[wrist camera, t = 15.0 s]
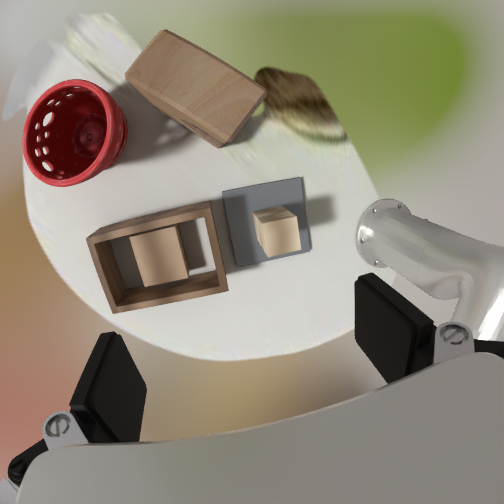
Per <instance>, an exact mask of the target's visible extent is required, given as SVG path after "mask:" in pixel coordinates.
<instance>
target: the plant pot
mask: <svg viewBox="0 0 504 504" xmlns="http://www.w3.org/2000/svg"><path fill="white" fill-rule="evenodd" d="M74 87H80V88H74ZM69 94H72V95H70V96H67V95H69ZM53 99H54V100H53ZM51 100H53V101H52V102H51V103H50V104H48V103H49V102H50V101H51ZM59 101H60V102H59ZM57 102H59V104H57V105H55V104H56V103H57ZM47 104H48V105H47ZM50 112H52V117H51V120H50V122H49V123H48V124H47V125H46V126H43V120H44V118H45V116H46V115H47V114H48V113H50ZM37 123H38V126H37V129H36V130H35V126H36V124H37ZM45 132H47V137H46V138H45ZM37 136H38V139H39V140H38V142H37ZM126 139H127V123H126V119H125V116H124V114H123V112H122V111H121V109H120V108H119V107H118V105H117V104H116V102H115V100H114V99H113V98H112V97H111V96H110V95H109V94H108V93H107V92H106V91H105V90H104V89H102V88H101V87H99V86H98V85H96V84H94V83H92V82H89V81H86V80H80V79H72V80H67V81H63V82H60V83H58V84H56V85H54V86H52V87H51V88H50V89H48V90H47V91H46V92H45V93H43V94H42V95H41V96H40V98H39V99H38V100H37V101H36V102H35V104H34V105H33V107H32V108H31V110H30V112H29V114H28V116H27V119H26V122H25V126H24V130H23V141H22V144H23V153H24V157H25V160H26V163H27V165H28V167H29V169H30V170H31V172H32V173H33V174H34V175H35V176H36V177H37V178H38V179H39V180H41V181H42V182H44V183H46V184H49V185H52V186H57V187H67V186H72V185H76V184H79V183H82V182H84V181H86V180H89V179H91V178H93V177H94V176H96V175H98V174H99V173H100V172H102V171H103V170H105V169H107V168H108V167H109V166H111V165H112V164H113V163H114V162H115V161H116V160H117V158H118V157H119V156H120V154H121V152H122V150H123V148H124V146H125V143H126ZM43 147H45V149H46V151H47V155H45V154H44V153H43ZM35 149H36V150H37V152H38V156H36V154H35ZM42 162H45V163H47V164H48V166H49V167H50V168H51V171H47V170H46V169H45V168H44V167H43V165H42ZM60 173H61V174H60Z"/></svg>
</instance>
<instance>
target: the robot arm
mask: <svg viewBox="0 0 504 504" xmlns="http://www.w3.org/2000/svg"><path fill="white" fill-rule="evenodd" d="M356 243H357V248H358V251H359V253H360V255H361V257H362V258H363V259H364V260H365V261H366V262H367V263H369V264H370V265H372V266H374V267H379V268H384V267H390V268H391V269H393V270H394V271H396V272H397V273H399V274H400V275H401V276H403V277H405V278H406V279H407V280H409V281H410V282H411V283H413V284H415V285H416V286H417V287H418V288H420V289H421V290H423V291H424V292H426V293H427V294H428V295H430V296H432V297H434V298H436V299H441V300H449V299H454V298H458V297H459V300H458V303H457V305H456V308H455V312H454V314H453V316H452V318H451V321H450V322H446V323H443V324H441V325H440V326H439V327H438V328H437V327H436V326H435V325H434V324H433V323H434V321H433V320H432V319H430V318H429V317H428V316H427V315H426V314H424V313H423V312H422V311H421V310H419V309H418V308H417V307H416V306H414V305H413V304H412V303H411V302H410V301H408V300H407V299H406V298H405V297H403V296H402V295H401V294H400V293H398V292H397V291H396V290H395V289H393V288H392V287H391V286H389V285H388V284H387V283H386V282H384V281H383V280H382V279H380V278H379V277H378V276H377V275H375V274H374V273H368V274H365V275H361V276H359V277H358V280H357V281H355V339H356V342H357V344H358V345H359V346H360V348H361V349H362V350H363V352H364V353H365V354H366V356H367V357H368V358H369V359H370V361H371V362H372V363H373V365H374V366H375V367H376V368H377V370H378V371H379V373H380V374H381V375H382V377H383V378H384V379H385V381H386V382H387V383H388V384H387V385H385V386H382V387H380V388H377V389H375V390H372V391H370V392H368V393H365V394H362V395H359V396H357V397H354V398H351V399H349V400H346V401H343V402H340V403H337V404H334V405H331V406H328V407H325V408H322V409H319V410H315V411H312V412H309V413H305V414H302V415H298V416H295V417H291V418H288V419H284V420H280V421H276V422H272V423H268V424H264V425H259V426H255V427H250V428H245V429H240V430H235V431H229V432H223V433H218V434H211V435H205V436H198V437H190V438H181V439H172V440H160V441H146V442H139V439H140V432H141V424H142V418H143V411H144V405H145V398H146V393H147V388H146V384H145V382H144V380H143V379H142V376H141V375H140V373H139V371H138V369H137V367H136V365H135V363H134V361H133V359H132V357H131V355H130V353H129V351H128V349H127V347H126V345H125V343H124V341H123V339H122V337H121V335H119V334H118V335H117V334H116V333H115V332H114V331H113V332H107V333H102V334H100V336H99V338H98V340H97V342H96V345H95V347H94V349H93V351H92V353H91V355H90V357H89V359H88V362H87V364H86V366H85V368H84V371H83V373H82V375H81V378H80V380H79V382H78V384H77V387H76V389H75V391H74V394H73V396H72V399H71V401H70V404H69V405H70V407H71V410H70V412H67V411H58V412H55V413H53V414H52V415H50V416H49V417H48V418H47V419H46V420H45V422H44V424H43V427H42V434H43V437H44V439H42V440H41V441H39V442H38V443H36V444H35V445H33V446H32V447H30V448H28V449H27V450H25V451H24V452H22V453H21V454H20V455H18V456H16V457H15V458H14V459H13V460H12V461H11V463H10V464H9V467H8V477H9V479H7V478H5V477H4V479H3V480H2V481H1V482H0V504H504V247H501V246H497V245H493V244H488V243H485V242H482V241H478V240H475V239H473V238H470V237H467V236H464V235H462V234H459V233H457V232H455V231H452V230H450V229H447V228H445V227H442V226H439V225H437V224H434V223H432V222H429V221H428V220H427V219H422V218H419V217H416V216H413V215H411V213H410V211H409V209H408V208H407V207H406V206H405V205H404V204H403V203H402V202H399V201H397V200H394V199H382V200H379V201H377V202H375V203H374V204H372V205H371V206H370V207H369V208H368V209H367V210H366V211H365V212H364V214H363V215H362V217H361V219H360V221H359V224H358V227H357V233H356Z"/></svg>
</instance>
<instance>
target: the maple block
mask: <svg viewBox="0 0 504 504" xmlns="http://www.w3.org/2000/svg"><path fill="white" fill-rule="evenodd" d="M252 213H253V219H254V224H255V229H256V235H257V240H258V242H259V243H260V245H261V247H262V248H263V250H264V252H265V253H266V255H267V257H272V256H276V255H281V254H285V253H289V252H294V251H298V250H301V244H300V236H299V229H298V222H297V216H295V215H294V214H292V213H291V212H290V211H288V210H287V209H285V208H284V207H282V206H278V207H273V208H268V209H263V210H258V211H253V212H252Z"/></svg>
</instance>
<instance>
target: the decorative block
mask: <svg viewBox="0 0 504 504" xmlns="http://www.w3.org/2000/svg"><path fill="white" fill-rule="evenodd" d="M125 78H126V80H127V81H128V82H129V83H130V84H131V85H132V86H133V87H135V88H136V89H137V90H138V91H139V92H140V93H141V94H142V95H143V96H144V97H145V98H146V99H147V100H149V101H150V102H151V103H152V104H153V105H154V106H155V107H156V108H157V109H158V110H159V111H160V112H162V113H163V114H165V115H166V116H168V117H170V118H171V119H173V120H175V121H176V122H178V123H179V124H181V125H183V126H184V127H186V128H187V129H189V130H190V131H192V132H194V133H195V134H197V135H198V136H200V137H201V138H203V139H204V140H206V141H208V142H209V143H211V144H212V145H214V146H215V147H217V148H222V147H223V146H224V145H225V143H230V142H231V141H232V140H234V138H235V137H236V135H237V134H238V133H239V131H240V130H241V129H242V127H243V126H244V125H245V123H246V122H247V121H248V119H249V118H250V117H251V115H252V114H253V113H254V112H255V110H256V109H257V108H258V106H259V105H260V104H261V103H262V101H263V100H264V99H265V98H266V96H267V90H266V89H265V88H264V87H262V86H261V85H260V84H258V83H257V82H255V81H254V80H252V79H251V78H249V77H248V76H246V75H245V74H243V73H242V72H240V71H238V70H237V69H235V68H234V67H232V66H230V65H229V64H228V63H226V62H224V61H222V60H221V59H219V58H218V57H216V56H214V55H213V54H211V53H209V52H208V51H205V50H204V49H202V48H201V47H199V46H197V45H195V44H193V43H191V42H190V41H187V40H186V39H184V38H182V37H180V36H178V35H176V34H174V33H172V32H170V31H168V30H162V31H160V32H159V33H158V34H157V35H156V36H155V37H154V38H153V40H152V41H151V42H150V43H149V44H148V45H147V47H146V48H145V49H144V50H143V51H142V53H141V54H140V55H139V56H138V58H137V59H136V60H135V61H134V63H133V64H132V65H131V67H130V68H129V69H128V71H127V72H126V73H125Z"/></svg>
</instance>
